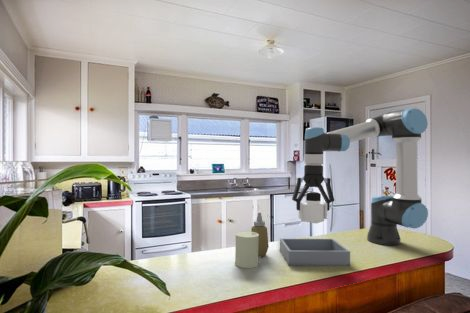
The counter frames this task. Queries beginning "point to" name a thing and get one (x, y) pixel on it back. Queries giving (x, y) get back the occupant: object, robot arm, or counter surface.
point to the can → (246, 249)
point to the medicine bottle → (313, 208)
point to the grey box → (314, 252)
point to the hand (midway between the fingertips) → (312, 218)
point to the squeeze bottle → (261, 235)
